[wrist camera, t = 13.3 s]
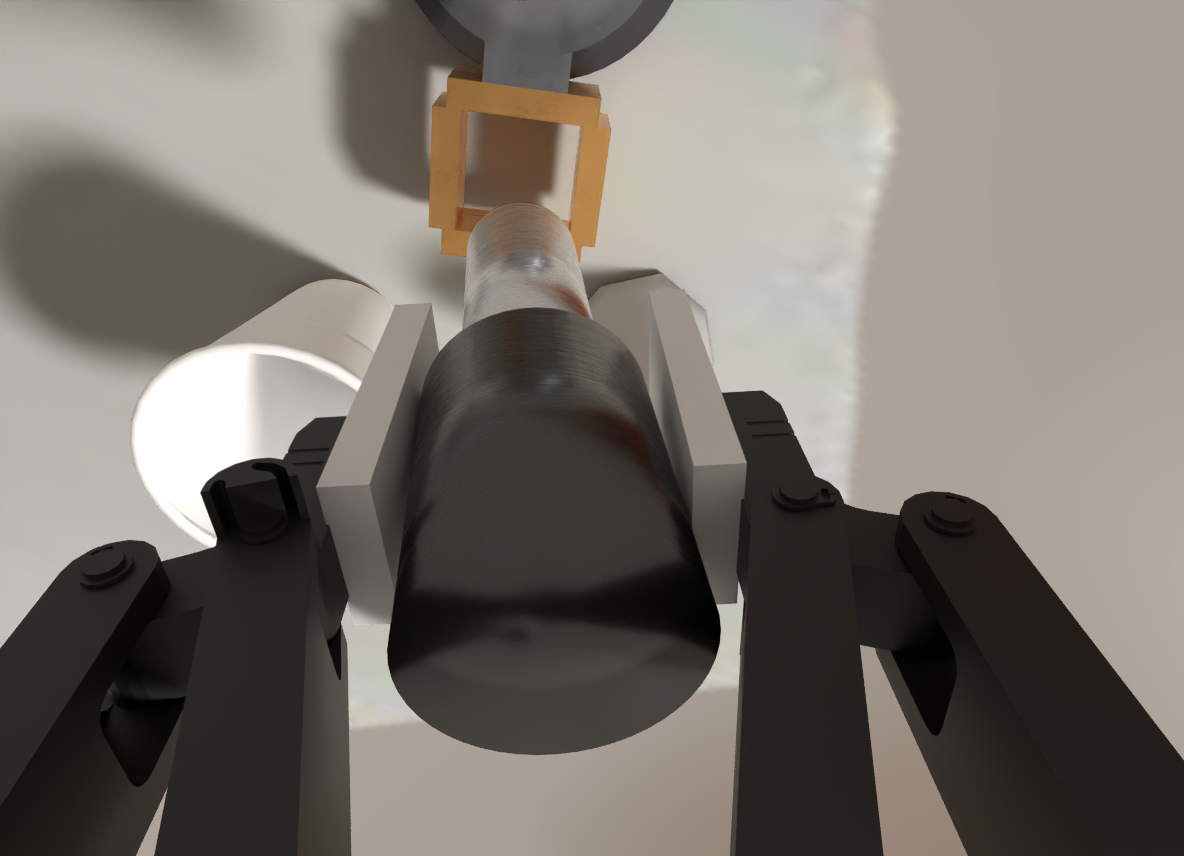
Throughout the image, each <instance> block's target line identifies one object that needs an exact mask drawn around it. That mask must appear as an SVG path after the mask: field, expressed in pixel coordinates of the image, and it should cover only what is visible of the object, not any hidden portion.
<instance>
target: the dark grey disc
mask: <svg viewBox="0 0 1184 856" xmlns="http://www.w3.org/2000/svg"><path fill="white" fill-rule="evenodd" d="M416 2H417V4H418V5H419V7H420V8H421V9H422V11H423V12H424V14H425V15H426V16H427V18H428V19H429V21H430V22H431V23H432V24H433V25H434V26H435V27H436V28H437V29H438V31H439V32H440V33H441V34H442V35H443V36H444V37H445V38H446V39H447V40H448V41H450V42H451V43H452V44H453V45H454V46H455V47H456V48H458V49H459V50H460V51H461V52H463V53H464V54H466V55H467V56H469V57H470V58H472V59H473V60H475V61H476V62H478V63H480V64H482V65H483V61H484V44H485V41H484V40H482V39H480V38H479V37H477V36H476V35H474V34H473V33H472V32H470V31H469V30H467V29H466V28H465V27H463V26H462V25H461V24H460V23H459V22H458V21H457V20H456V19H455V18H454V17H452V16H451V15H450V13H449V12H448V11H447V10H446V9H445V8H444V6H443V5H442V4H441V3H440V2H439V1H438V0H416ZM672 2H673V0H644V1H643V2H642V3H641V5H640V6H639V7H638V8H637V10H636V11H635V12H634V13H633V14H632V16H631V17H630V18H629V19H628V20H626V21H625V22H624V23H623V24H622V25H621V26H620V27H619V28H618V29H617V30H615V31H614V32H612V33H611V34H610V35H608V36H607V37H606V38H604V39H602V40H600V41H598V42H597V43H595V44H593V45H591V46H589V47H586V48H583V49H581V50H578V51H575V52H572V60H571V69H570V78H569V79H572V78H576V77H580V76H584V75H588V74H590V73H593V72H595V71H598V70H600V69H603V68H605V67H607V66H608V65H610V64H612V63H614V62H616V61H617V60H619V59H621V58H622V57H624V56H625V55H626V54H627V53H629V52H630V51H631V50H633V49H634V48H635V47H637V46H638V45H639V44H640V43H641V42H642V41H643V40H644V39H645V38H646V37H647V36H648V35H649V34H650V33H651V32H652V31H653V29H654V28H655V27H656V25H657V24H658V23H659V22H660V20H661V19H662V18H663V17H664V15H665V13H666V12H667V10H668V9H669V7H670V5H671V4H672Z"/></svg>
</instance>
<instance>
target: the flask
mask: <svg viewBox="0 0 1184 856" xmlns="http://www.w3.org/2000/svg"><path fill="white" fill-rule="evenodd" d="M678 289H680V288H679V287H678V286H677V285H676V284H674V283H673V282H672V281H671V280H670V279H669V278H667V277H666V276H665V275H664V274H663V273H659V274H655V275H650V276H646V277H641V278H636V279H632V280H627V281H622V282H618V283H613V284H608V285H604V286H601V287H600V288H599V289H598V290H597V291H596V292H595V293H594V294H593V295H592V296H591V298H590V299H589V300H588V302H589V306H590V310H591V315H592V319H593V320H594V321H596V322H597V323H599V324H601V325H602V326H604V327H606V328H607V329H609V330H610V331H611V332H612V333H614V334H615V335H616V336H617V337H619V338H620V340H621V341H622V342H623V343H624V344H625V345H626V346H627V347H628V348H629V350H630V351H631V353H632V354H633V355H634V357H635V358H636V360H637V362H638V364H639V366H640V368H641V371H642V374H643V377H644V380H645V383H646V386H647V389H648V392H649V291H660V290H678ZM686 296H687V298H688V301H689V304H690V307H691V309H692V312H693V315H694V318H695V321H696V323H697V326H698V329H699V332H700V334H701V337H702V340H703V343H704V346H705V348H706V351H707V354H708V357H709V359H710V362H711V365H712V366H713V364H714V360H713V353H712V347H711V340H710V334H709V327H708V321H707V314H706V310H705V309H704V308H703V307H702V306H700V305H699V304H698V303H697V302H696V301H694V300H693V299H692V298H691V297H690V296H689V295H687V294H686Z"/></svg>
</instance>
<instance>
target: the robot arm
mask: <svg viewBox="0 0 1184 856" xmlns="http://www.w3.org/2000/svg"><path fill="white" fill-rule="evenodd" d="M438 354H439V349H438V342H437V336H436V330H435V324H434V318H433V311H432V305H431V303H424V304H406V305H395V307H394V309H393V312H392V314H391V316H390V319H389V321H388V323H387V326H386V328H385V330H384V332H383V335H382V337H381V339H380V342H379V344H378V346H377V348H376V351H375V353H374V355H373V358H372V360H371V362H370V365H369V367H368V369H367V371H366V374H365V376H364V378H363V381H362V383H361V385H360V387H359V390H358V392H357V394H356V397H355V399H354V401H353V404H352V406H351V408H350V410H349V413H348V415H347V416H337V417H319V418H315V419H313V420H312V421H311V422H310V423H309V424H307V425H306V426H305V427H304V428H302V429H301V430H300V431H299V432H298V433H297V434H296V435H295V437H294V439H293V441H292V443H291V445H290V447H289V449H288V453H286V455H285V456H284V458H283V460H282V459H276V458H259V459H251V460H247V461H244V462H240V463H236V464H234V465H232V466H230V467H228V468H225V469H223V470H221V471H219V472H218V473H216V474H215V475H214V476H213V477H212V478H210V479H209V480H208V481H207V482H206V483H205V485H204V486H203V488H202V490H201V492H200V494H201V497H202V499H203V502H204V505H205V507H206V510H207V513H208V515H209V518H210V521H211V523H212V526H213V529H214V531H215V534H216V537H217V541H216V546H214V547H212V548H209V549H206V550H203V551H200V552H196V553H193V554H189V555H185V556H181V557H177V558H173V559H170V560H166V561H162V562H161V560H160V557H159V555H158V553H157V550H156V548H155V547H154V546H152V545H150V544H149V543H147V542H145V541H134V540H126V541H120V542H114V543H109V544H106V545H103V546H101V547H97V548H95V549H93V550H90V551H89V552H87V553H85V554H84V555H82V556H80V557H79V558H77V559H75V560H73V561H72V562H71V563H70V564H69V565H68V566H67V567H66V568H65V569H64V570H63V571H62V572H60V573H59V575H58V576H57V577H56V579H55V580H54V581H53V582H52V584H51V585H50V586H49V587H48V589H47V590H46V591H45V593H44V594H43V595H42V596H41V598H40V599H39V600H38V601H37V603H36V604H35V605H34V606H33V608H32V609H31V610H30V612H29V613H28V614H27V615H26V617H25V618H24V619H23V620H22V622H21V623H20V624H19V625H18V627H17V628H16V629H15V631H14V632H13V633H12V634H11V636H10V637H9V638H8V639H7V641H6V642H5V643H4V645H3V646H2V647H1V648H0V856H136V854H137V852H138V850H139V848H140V845H141V843H142V841H143V839H144V837H145V835H146V833H147V830H148V828H149V826H150V824H151V822H152V820H153V817H154V815H155V813H156V811H157V809H158V806H159V804H160V802H161V800H162V798H163V796H164V793H165V792H166V789H167V787H168V789H167V794H166V799H165V804H164V809H163V814H162V819H161V824H160V829H159V834H158V839H157V844H156V850H155V855H154V856H351V822H350V821H351V820H350V768H349V713H348V660H347V642H346V639H345V635H344V632H343V629H342V625H341V620H342V617H343V614H344V611H345V608H346V604H347V601H348V604H349V608H350V611H351V615H352V618H353V622H354V626H356V625H373V624H390V623H391V618H392V610H393V603H394V595H395V588H396V580H397V573H398V565H399V558H400V550H401V543H402V535H403V528H404V521H405V513H406V506H407V498H408V491H409V483H410V476H411V468H412V461H413V453H414V446H415V438H416V431H417V423H418V416H419V408H420V401H421V394H422V387H423V384H424V381H425V377H426V375H427V373H428V371H429V368H430V366H431V364H432V363H433V361H434V360H435V358H436V357H437V355H438ZM649 396H650V399H651V402H652V405H653V408H654V411H655V414H656V418H657V421H658V424H659V427H660V430H661V433H662V436H663V439H664V443H665V446H666V449H667V452H668V455H669V458H670V461H671V465H672V468H673V471H674V474H675V477H676V480H677V483H678V486H679V490H680V493H681V496H682V499H683V502H684V505H685V508H686V512H687V515H688V518H689V521H690V524H691V527H692V530H693V533H694V537H695V540H696V543H697V546H698V549H699V552H700V555H701V559H702V562H703V565H704V568H705V571H706V574H707V577H708V580H709V584H710V587H711V590H712V593H713V596H714V599H715V602H716V604H732V603H737V593H738V579H739V583H740V587H741V590H742V594H743V597H744V606H743V619H742V632H741V644H740V674H739V693H738V712H737V731H736V750H735V770H734V788H733V807H732V808H733V809H732V827H731V844H730V856H883V847H882V839H881V829H880V821H879V813H878V812H879V811H878V802H877V793H876V785H875V776H874V767H873V758H872V749H871V740H870V731H869V722H868V713H867V704H866V695H865V687H864V678H863V669H862V661H861V652H860V645H863V646H869V647H873V648H875V649H876V654H877V656H878V658H879V660H880V663H881V665H882V667H883V669H884V672H885V674H886V676H887V678H888V680H889V683H890V685H891V687H892V689H893V691H894V693H895V696H896V698H897V700H898V702H899V705H900V707H901V709H902V711H903V713H904V716H905V718H906V720H907V722H908V725H909V727H910V729H911V731H912V733H913V736H914V738H915V740H916V742H917V744H918V746H919V749H920V751H921V753H922V755H923V758H924V760H925V762H926V764H927V766H928V769H929V771H930V773H931V775H932V777H933V779H934V782H935V784H936V786H937V789H938V791H939V793H940V795H941V797H942V799H943V801H944V804H945V806H946V808H947V811H948V813H949V815H950V817H951V819H952V821H953V824H954V826H955V828H956V830H957V832H958V835H959V837H960V839H961V841H962V844H963V846H964V848H965V850H966V852H967V854H968V856H1184V760H1183V759H1182V757H1181V756H1180V755H1179V754H1178V753H1177V751H1176V750H1175V748H1174V747H1173V746H1172V745H1171V743H1170V742H1169V741H1168V739H1167V738H1166V737H1165V735H1164V734H1163V733H1162V731H1161V730H1160V729H1159V727H1158V726H1157V725H1156V724H1155V723H1154V721H1153V720H1152V719H1151V717H1150V716H1149V714H1148V713H1147V712H1146V711H1145V709H1144V708H1143V707H1142V705H1141V704H1140V703H1139V701H1138V700H1137V699H1136V698H1135V696H1134V695H1133V694H1132V692H1131V691H1130V690H1129V689H1128V687H1127V686H1126V685H1125V683H1124V682H1123V681H1122V679H1121V678H1120V677H1119V675H1118V674H1117V673H1116V672H1115V670H1114V669H1113V668H1112V666H1111V665H1110V664H1109V662H1108V661H1107V660H1106V658H1105V657H1104V656H1103V655H1102V653H1101V652H1100V651H1099V649H1098V648H1097V647H1096V645H1095V644H1094V643H1093V641H1092V640H1091V639H1090V638H1089V636H1088V635H1087V634H1086V632H1085V631H1084V630H1083V628H1082V627H1081V626H1080V625H1079V623H1078V622H1077V621H1076V619H1075V618H1074V617H1073V615H1072V614H1071V613H1070V612H1069V611H1068V609H1067V608H1066V606H1065V605H1064V604H1063V602H1062V601H1061V600H1060V599H1059V597H1058V596H1057V595H1056V593H1055V592H1054V591H1053V589H1052V588H1051V587H1050V586H1049V584H1048V583H1047V582H1046V580H1045V579H1044V578H1043V576H1042V575H1041V574H1040V572H1039V571H1038V570H1037V569H1036V567H1035V566H1034V565H1033V563H1032V562H1031V561H1030V559H1029V558H1028V557H1027V556H1026V554H1025V553H1024V552H1023V550H1022V549H1021V548H1020V547H1019V545H1018V544H1017V543H1016V542H1015V540H1014V539H1013V537H1012V536H1011V535H1010V534H1009V532H1008V531H1007V529H1006V528H1005V527H1004V526H1003V525H1002V523H1001V522H1000V520H999V519H998V518H997V517H996V516H995V515H994V514H993V513H992V512H991V511H990V510H989V509H988V508H987V507H986V506H984V505H982V504H980V503H978V502H976V501H974V500H972V499H970V498H968V497H964V496H961V495H957V494H953V493H950V492H932V491H931V492H926V493H920V494H915V495H914V496H912V497H911V498H909V499H907V500H906V501H904V504H903V506H902V508H901V511H900V515H893V514H887V513H880V512H873V511H867V510H863V509H859V508H855V507H852V506H849V505H847V504H844V501H843V499H842V496H841V494H840V492H839V490H837V489H836V488H835V487H834V486H833V485H832V484H830V483H829V482H828V481H825V480H823V479H821V478H818V477H816V476H815V475H814V473H813V471H812V469H811V467H810V465H809V463H808V461H807V458H806V456H805V454H804V452H803V450H802V448H801V446H800V444H799V442H798V440H797V438H796V436H794V431H793V429H792V427H791V425H790V423H788V419H787V417H786V415H785V412H784V410H783V408H782V406H781V404H780V403H779V402H777V401H776V400H775V399H773V398H772V397H771V396H769V395H768V394H767V393H765V392H764V391H746V392H728V393H721V390H720V387H719V384H718V382H717V379H716V376H715V373H714V371H713V368H712V365H711V362H710V359H709V357H708V354H707V351H706V348H705V346H704V343H703V340H702V337H701V334H700V332H699V329H698V326H697V323H696V321H695V318H694V315H693V312H692V309H691V307H690V304H689V301H688V298H687V296H686V293H685V290H684V289H678V290H660V291H649Z"/></svg>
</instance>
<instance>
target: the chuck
mask: <svg viewBox="0 0 1184 856" xmlns="http://www.w3.org/2000/svg"><path fill="white" fill-rule="evenodd" d="M438 1H439V2H440V3H441V4H442V5H443V6H444V8H445V9H446V10H447V11H448V12H449V13H450V15H451V16H452V17H454V18H455V19H456V20H457V21H458V22H459V23H460V24H461V25H462V26H463V27H465V28H466V29H467V30H469V31H470V32H472V33H473V34H474V35H476V36H477V37H479V38H480V39H482V40H484V41H485V44H484V61H483V69H480V68H473V67H466V66H459V65H457V66H456V68H455V69H454V70H453V71H452V73H451V74H450V75H449V76H448V80H447V92H442V94H441V95H440V96H439V97H438V99H437V100H436V101H435V103H434V104H433V105H432V129H431V164H430V198H429V227H432V228H440V229H442V238H441V254H447V255H456V256H464V257H467V247H468V241H469V238H470V235H471V233H472V231H473V229H474V227H475V226H476V224H477V223H478V222H479V221H480V219H481V218H482V217H484V216H485V215H486V214H487V213H489V212H490V211H487V210H479V209H471V208H463V206H464V186H465V167H466V147H467V128H468V111H475V112H482V113H490V114H497V115H504V116H512V117H519V118H526V119H534V120H541V121H548V122H556V123H563V124H570V125H577V126H580V131H579V140H578V148H577V156H576V164H575V172H574V181H573V189H572V197H571V205H570V213H569V221H567V220H562V221H563V222H564V223H565V225H566V226H567V228H568V229H569V231H570V233H571V235H572V238H573V241H574V245H575V249H576V253H577V257H578V261H579V263H580V255H581V248H582V246H588V247H595V240H596V233H597V226H598V219H599V212H600V205H601V198H602V191H603V184H604V177H605V170H606V163H607V156H608V149H609V141H610V134H611V128H610V123H609V119H608V115H607V114H602V113H600V105H601V95H600V91H599V87H598V85H593V84H586V83H579V82H571V81H569V78H570V69H571V60H572V52H575V51H578V50H581V49H583V48H586V47H589V46H591V45H593V44H595V43H597V42H598V41H600V40H602V39H604V38H606V37H607V36H608V35H610V34H611V33H612V32H614V31H615V30H617V29H618V28H619V27H620V26H621V25H622V24H623V23H624V22H625V21H626V20H628V19H629V18H630V17H631V16H632V14H633V13H634V12H635V11H636V10H637V8H638V7H639V6H640V5H641V3H642V2H643V1H644V0H438Z"/></svg>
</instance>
